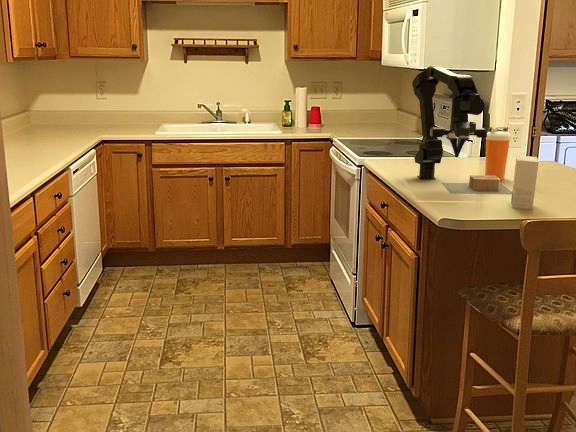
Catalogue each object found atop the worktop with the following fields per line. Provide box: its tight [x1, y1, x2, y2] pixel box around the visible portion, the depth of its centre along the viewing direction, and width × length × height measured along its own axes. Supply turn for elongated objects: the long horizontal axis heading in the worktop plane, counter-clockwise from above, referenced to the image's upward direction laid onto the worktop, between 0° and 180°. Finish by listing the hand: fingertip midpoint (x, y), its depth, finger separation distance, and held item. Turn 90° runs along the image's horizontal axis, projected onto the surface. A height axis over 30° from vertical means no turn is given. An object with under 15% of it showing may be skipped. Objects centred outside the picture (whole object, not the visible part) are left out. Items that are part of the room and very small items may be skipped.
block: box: [468, 174, 501, 191], centre depth 229 cm, size 7×4×9 cm
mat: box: [441, 182, 512, 195], centre depth 230 cm, size 18×22×1 cm
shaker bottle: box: [484, 126, 512, 181], centre depth 245 cm, size 9×9×20 cm
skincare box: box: [510, 155, 539, 211], centre depth 204 cm, size 8×7×16 cm
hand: (456, 157), depth 227 cm, fingers closed
